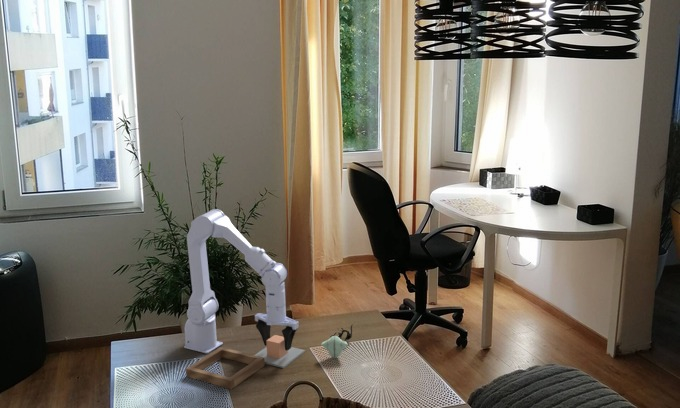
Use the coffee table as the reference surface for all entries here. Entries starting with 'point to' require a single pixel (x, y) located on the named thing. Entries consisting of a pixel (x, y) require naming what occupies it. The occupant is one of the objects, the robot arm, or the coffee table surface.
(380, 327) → the coffee table surface
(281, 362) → the tile
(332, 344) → the pale green pointed piece
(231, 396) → the coffee table surface
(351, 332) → the creature
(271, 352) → the terracotta block
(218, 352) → the well frame
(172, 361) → the coffee table surface
